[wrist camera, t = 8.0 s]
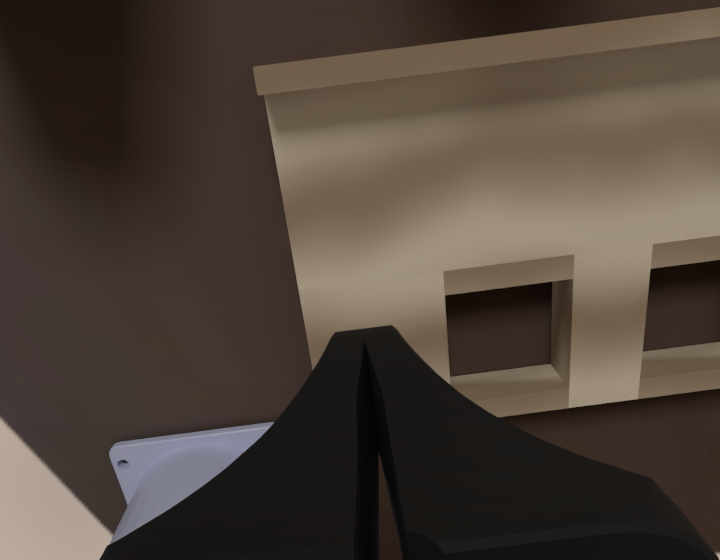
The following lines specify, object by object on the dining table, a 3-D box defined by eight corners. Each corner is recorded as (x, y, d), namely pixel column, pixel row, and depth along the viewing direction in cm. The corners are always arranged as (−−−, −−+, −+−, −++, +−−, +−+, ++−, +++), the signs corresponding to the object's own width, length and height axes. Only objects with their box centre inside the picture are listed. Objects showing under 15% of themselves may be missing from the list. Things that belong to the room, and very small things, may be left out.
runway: (833, 359, 24) (911, 403, 21) (328, 425, 24) (327, 480, 21) (929, -16, 18) (1057, -36, 15) (266, 68, 18) (252, 66, 15)
